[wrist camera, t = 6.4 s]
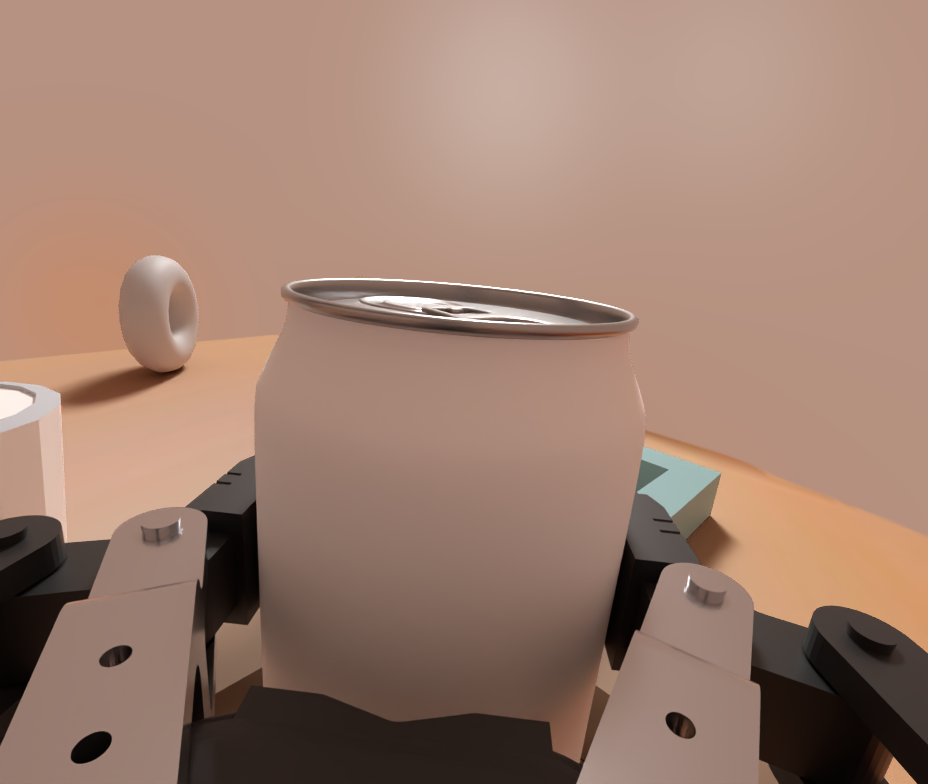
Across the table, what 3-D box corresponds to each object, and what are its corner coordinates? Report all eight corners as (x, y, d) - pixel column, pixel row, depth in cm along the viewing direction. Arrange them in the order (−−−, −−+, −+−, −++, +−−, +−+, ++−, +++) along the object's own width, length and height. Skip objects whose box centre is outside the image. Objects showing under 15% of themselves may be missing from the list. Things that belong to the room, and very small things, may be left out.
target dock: (397, 495, 25) (399, 451, 25) (531, 443, 34) (535, 409, 33) (603, 623, 18) (615, 566, 17) (710, 514, 26) (721, 472, 26)
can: (441, 656, 16) (476, 280, 12) (614, 841, 11) (745, 323, 8) (229, 783, 12) (194, 270, 8) (365, 1162, 7) (412, 349, 4)
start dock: (46, 801, 11) (26, 718, 10) (433, 576, 20) (437, 522, 19) (339, 2228, 3) (345, 2295, 3) (768, 824, 12) (797, 747, 11)
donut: (170, 357, 48) (160, 252, 45) (207, 358, 48) (200, 254, 45) (117, 386, 38) (100, 255, 35) (165, 387, 39) (152, 259, 36)
